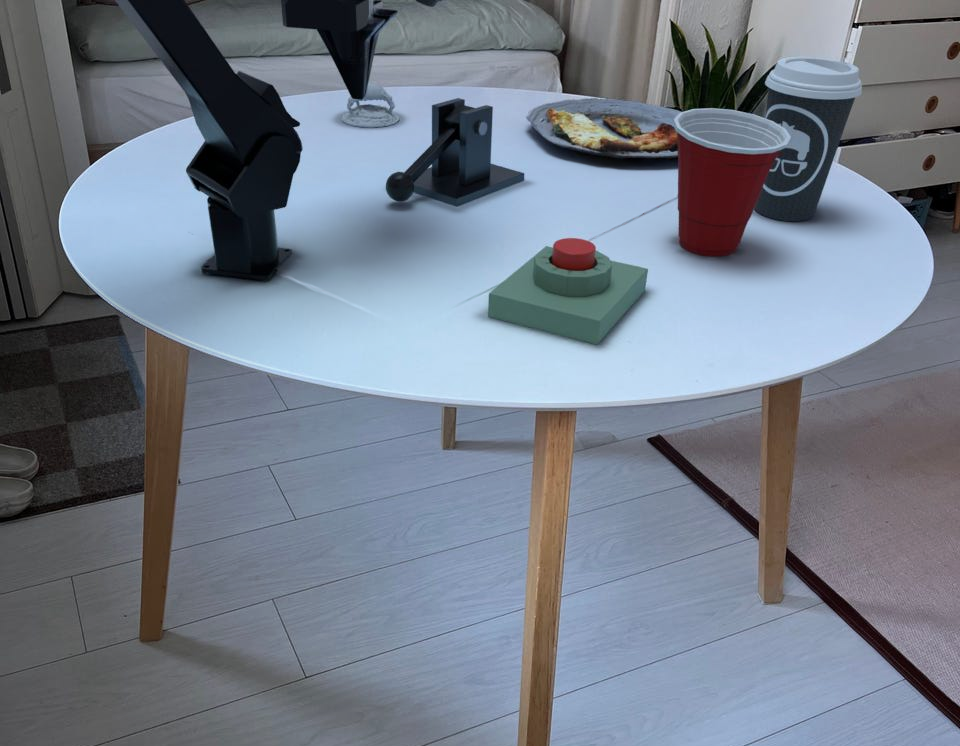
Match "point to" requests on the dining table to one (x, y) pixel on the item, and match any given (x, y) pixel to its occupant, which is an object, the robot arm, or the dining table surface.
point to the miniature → (371, 109)
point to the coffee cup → (805, 131)
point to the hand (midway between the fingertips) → (358, 98)
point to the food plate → (608, 127)
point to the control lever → (425, 158)
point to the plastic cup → (721, 175)
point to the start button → (573, 254)
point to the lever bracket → (464, 159)
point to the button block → (568, 296)
